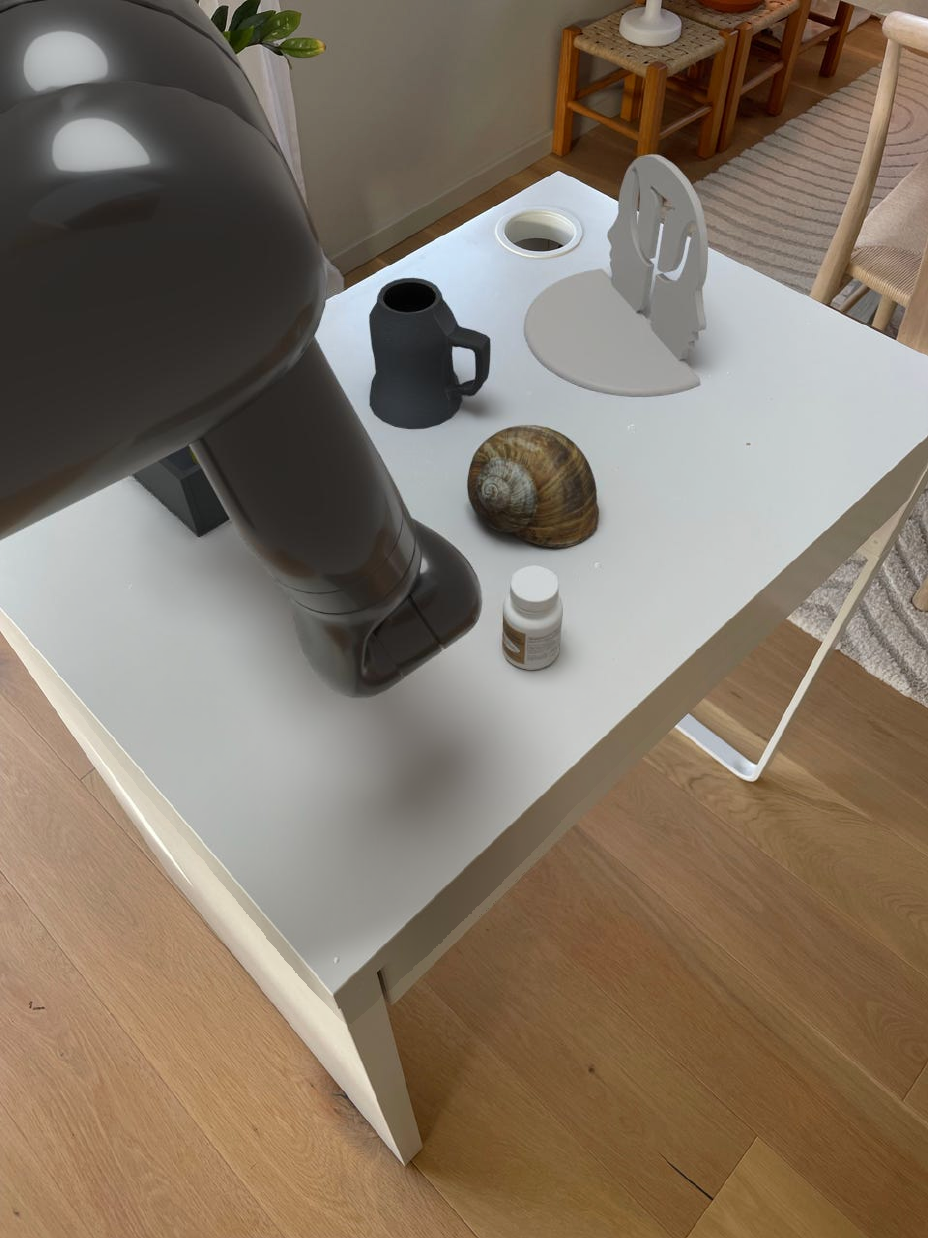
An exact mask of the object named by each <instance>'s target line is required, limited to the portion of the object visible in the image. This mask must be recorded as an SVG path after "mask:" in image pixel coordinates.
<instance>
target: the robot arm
mask: <svg viewBox="0 0 928 1238" xmlns="http://www.w3.org/2000/svg"><path fill="white" fill-rule="evenodd" d="M327 270H328V269H327V264H326V259H325V255H324V251H323V247H322V243H321V240H320V238H319V235H318V231H317V229H316V226H315V224H314V221H313V218H312V216H311V214H310V212H309V209H308V207H307V203H306V201H305V200H304V197H303V195H302V193H301V190H300V188H299V185H298V183H297V180H296V179H295V177H294V175H293V172H292V170H291V168H290V165H289V163H288V162H287V159H286V157H285V155H284V153H283V150H282V148H281V145H280V144H279V141H278V139H277V137H276V135H275V132H274V131H273V128H272V126H271V123H270V121H269V120H268V116H267V114H266V111H265V110H264V108H263V106H262V104H261V103H260V100H259V97H258V94H257V92H256V90H255V88H254V86H253V84H252V82H251V80H250V78H249V76H248V75H247V73H246V71H245V69H244V68H243V66H242V64H241V62H240V60H239V58H238V56H237V55H236V53H235V51H234V49H233V48H232V46H231V44H230V43H229V41H228V39H226V37H225V36H224V34H223V33H222V32H221V31H220V29H219V28H218V27H217V26H216V25H215V23H214V22H213V21H212V20H211V18H210V17H209V16H208V15H207V14H206V12H205V11H204V10H203V8H202V7H201V6H200V5H199V4H198V3H197V1H196V0H0V541H3V540H4V539H7V538H9V537H10V536H12V535H15V534H17V533H18V532H20V531H22V530H25V529H26V528H29V527H30V526H32V525H34V524H37V523H38V522H40V521H42V520H44V519H46V518H48V517H50V516H52V515H54V514H56V513H58V512H60V511H62V510H65V509H66V508H68V507H70V506H72V505H74V504H76V503H78V502H80V501H82V500H84V499H86V498H88V497H91V496H92V495H94V494H96V493H98V492H100V491H102V490H105V489H106V488H108V487H110V486H112V485H114V484H116V483H118V482H120V481H122V480H124V479H126V478H128V477H130V476H132V474H134V473H136V472H138V471H140V470H142V469H144V468H145V467H147V466H149V465H151V464H153V463H155V462H157V461H159V460H161V459H163V458H165V457H167V456H169V455H170V454H172V453H174V452H176V451H178V450H180V449H182V448H184V447H186V446H188V445H189V446H190V448H191V450H192V451H193V453H194V455H195V457H196V459H197V460H198V462H199V464H200V466H201V468H202V470H203V471H204V473H205V475H206V477H207V479H208V481H209V482H210V484H211V486H212V488H213V490H214V491H215V493H216V495H217V497H218V498H219V500H220V502H221V504H222V506H223V508H224V509H225V511H226V513H227V515H228V517H229V518H230V519H229V520H230V522H231V524H232V525H233V527H234V528H235V530H236V532H237V534H238V535H239V536H240V538H241V539H242V541H243V542H244V544H245V545H246V547H247V548H248V549H249V551H250V552H251V553H252V554H253V556H254V557H255V558H256V559H257V560H258V562H259V563H260V565H261V566H262V567H263V568H264V569H265V571H266V572H267V573H268V574H269V576H271V577H272V578H273V579H274V580H275V582H276V583H277V584H278V585H279V586H280V587H281V588H282V590H283V591H284V592H285V593H286V594H287V595H288V596H289V597H290V603H291V610H292V617H293V622H294V627H295V632H296V635H297V638H298V641H299V644H300V647H301V649H302V652H303V654H304V657H305V659H306V660H307V662H308V664H309V665H310V667H311V668H312V670H313V671H314V673H315V674H316V676H318V678H319V679H320V680H321V681H322V682H323V683H324V684H325V685H326V686H327V687H329V688H330V689H331V690H332V691H334V692H335V693H337V694H340V695H341V696H344V697H349V698H352V699H367V698H371V697H374V696H375V697H376V696H378V695H380V694H383V693H384V692H386V691H388V690H390V689H391V688H392V687H394V686H396V684H398V683H400V682H401V681H403V679H405V677H407V676H409V675H411V674H412V673H413V672H415V671H416V670H418V669H419V668H420V667H422V666H423V665H425V664H426V663H428V662H429V661H431V660H432V659H434V657H436V656H438V655H440V653H442V652H443V650H446V649H448V648H449V647H452V645H454V644H455V643H456V642H458V641H460V640H461V639H462V638H463V637H464V636H466V635H467V634H468V633H469V632H470V631H471V630H472V629H474V628H475V626H476V624H477V623H478V621H479V620H480V617H481V613H482V610H483V609H482V608H483V592H482V588H481V587H482V586H481V582H480V580H479V577H478V575H477V573H476V571H475V569H474V567H473V566H472V564H471V562H470V561H469V560H468V559H467V557H466V556H465V555H464V554H463V553H462V551H460V550H459V549H458V547H456V546H455V545H454V544H452V543H451V542H450V541H449V540H447V539H446V538H445V537H443V536H442V535H441V534H440V533H438V532H436V531H435V530H434V529H432V528H431V527H429V526H427V525H425V524H424V523H422V522H420V521H418V520H417V519H415V518H413V517H412V515H411V514H410V511H409V509H408V507H407V505H406V503H405V501H404V499H403V497H402V495H401V493H400V490H399V488H398V486H397V484H396V482H395V480H394V478H393V477H392V475H391V472H390V470H389V469H388V467H387V466H386V463H385V462H384V460H383V458H382V456H381V454H380V452H379V451H378V449H377V448H376V445H375V443H374V442H373V440H372V438H371V435H369V433H368V431H367V430H366V428H365V426H364V423H363V422H362V421H361V418H360V417H359V415H358V413H357V412H356V410H355V408H354V406H353V405H352V403H351V401H350V399H349V397H348V395H347V393H346V392H345V390H344V389H343V386H342V385H341V383H340V381H339V379H338V377H337V375H336V374H335V372H334V369H332V367H331V365H330V363H329V360H328V358H327V357H326V356H325V352H324V351H323V350H322V347H321V346H320V343H319V342H318V340H317V338H316V334H317V331H318V329H319V327H320V324H321V321H322V318H323V314H324V312H325V309H326V303H327V292H328V271H327Z"/></svg>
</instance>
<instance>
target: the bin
mask: <svg viewBox="0 0 928 1238" xmlns="http://www.w3.org/2000/svg"><path fill="white" fill-rule="evenodd" d="M131 476H132V477H133V479H135V480H136V481H137V482H138V483H139V484H141V485H142V486H143V487H144V488H145V489H146V490H147V491H148V492H149V493H150V494H152V495H153V496H154V497H155V499H157V500H158V501H159V502H160V503H161V504H162V505H163V506H164V507H165V508H167V509H168V511H170V512H171V513H172V514H173V515H174V516H175V517H176V518H178V520H180V521H181V523H183V524H184V525H185V526H186V527H187V528H188V529H190V530H191V531H192V532H193V534H194V535H196V536H197V537H198V538H200V537H202V536H203V535H205V534H206V533H209V532H210V531H211V530H214V529H215V528H217V527H218V526H220V525H222V524H223V523H225V522H227V521H229V520H230V518H229V517H228V515H227V513H226V511H225V509H224V508H223V506H222V504H221V502H220V500H219V498H218V497H217V495H216V493H215V491H214V490H213V488H212V486H211V484H210V482H209V481H208V479H207V477H206V475H205V473H204V471H203V470H202V468H201V466H200V464H199V463H198V464H196V465H195V466H194V463H193V460H192V457H191V453H190V450H189V447H188V446H186V447H184V448H182V449H180V450H178V451H176V452H174V453H172V454H170V455H169V456H167V457H165V458H163V459H161V460H159V461H157V462H155V463H153V464H151V465H149V466H147V467H145V468H144V469H142V470H140V471H138V472H136V473H134V474H132V475H131Z"/></svg>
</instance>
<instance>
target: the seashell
mask: <svg viewBox="0 0 928 1238" xmlns="http://www.w3.org/2000/svg"><path fill="white" fill-rule="evenodd" d="M596 483H597V482H596V479H595V476H594V473H593V470H592V467H591V465H590V463H589V461H588V458H587V457H586V456H585V454H584V452H583V451H582V450H581V449H580V448H579V446H578V445H577V444H576V443H575V442H574V440H571V439H570V438H569V437H568V436H566V435H565V434H563V433H562V432H560V431H557V430H555V429H552V428H550V427H547V426H541V425H536V424H523V425H522V424H521V425H514V426H510V427H507V428H504V429H500V430H499V431H497V432H495V433H493V434H492V435H491V436H489V437H488V438H487V439H485V440H484V441H483V442H482V444H481V445H480V446H479V447H478V448H477V450H476V451H475V452H474V454H473V456H472V458H471V461H470V464H469V468H468V474H467V480H466V486H467V487H466V488H467V496H468V500H469V503H470V505H471V507H472V509H473V511H474V512H475V513H476V515H477V517H479V519H480V520H481V521H482V522H484V523H485V524H486V525H487V526H489V527H491V528H492V529H494V530H496V531H500V532H504V533H505V532H506V533H512V534H514V535H515V536H517V537H518V538H519V539H521V540H524V541H527V542H529V543H532V544H535V545H538V546H542V547H543V546H544V547H548V548H566V547H572V546H574V545H576V544H578V543H581V542H582V541H584V540H585V539H587V538H588V537H589V536H590V535H591V534H593V532H594V531H595V529H596V528H597V526H598V522H599V515H600V507H599V505H598V493H597V491H598V489H597V485H596Z"/></svg>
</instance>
